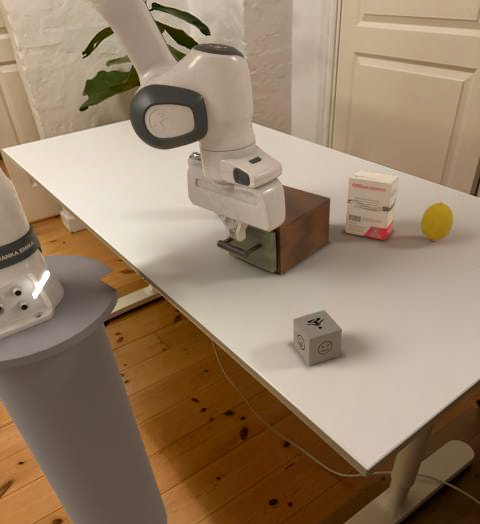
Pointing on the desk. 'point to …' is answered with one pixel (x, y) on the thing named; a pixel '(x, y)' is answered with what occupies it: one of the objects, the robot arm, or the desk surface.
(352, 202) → the ink box
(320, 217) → the cabinet
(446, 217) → the lemon
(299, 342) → the dice cube
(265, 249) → the drawer
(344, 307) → the desk surface
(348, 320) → the desk surface
